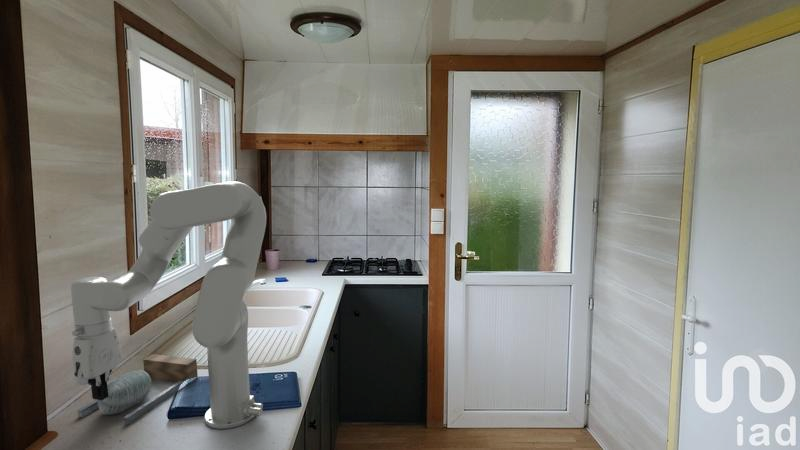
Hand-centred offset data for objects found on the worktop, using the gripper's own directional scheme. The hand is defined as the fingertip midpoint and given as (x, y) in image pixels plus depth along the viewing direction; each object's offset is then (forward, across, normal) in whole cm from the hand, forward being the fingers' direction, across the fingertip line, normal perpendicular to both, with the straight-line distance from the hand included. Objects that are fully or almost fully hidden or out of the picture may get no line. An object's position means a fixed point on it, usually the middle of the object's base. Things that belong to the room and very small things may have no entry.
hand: (100, 397), depth 115 cm
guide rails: (+6, +11, 0) cm, 13 cm away
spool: (+6, +8, 0) cm, 10 cm away
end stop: (+6, +24, 0) cm, 25 cm away
